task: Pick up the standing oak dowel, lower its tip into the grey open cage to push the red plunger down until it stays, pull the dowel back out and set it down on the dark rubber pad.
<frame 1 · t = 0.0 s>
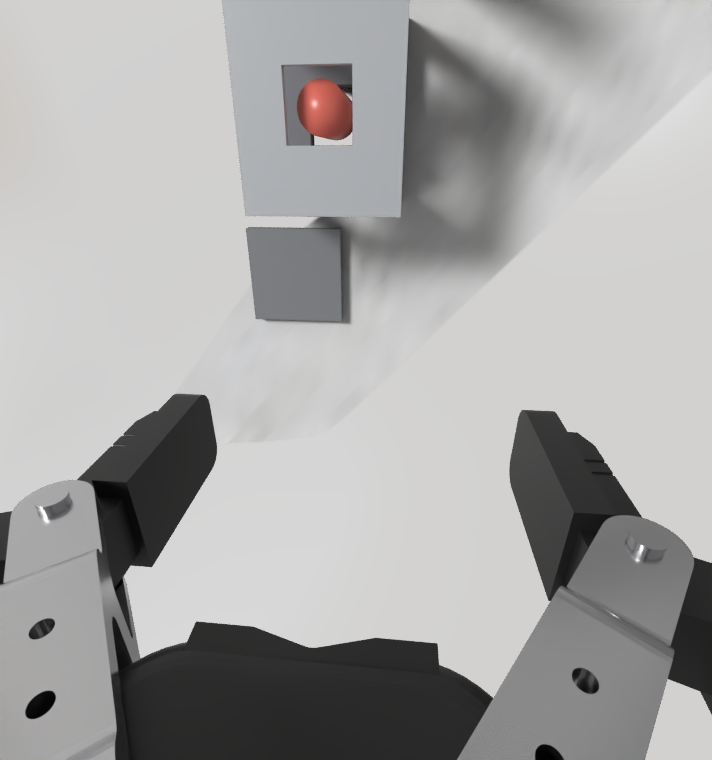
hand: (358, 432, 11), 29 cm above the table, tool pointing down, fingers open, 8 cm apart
grey open cage: (339, 118, 34), on the table
plunger: (329, 113, 29), point 5 cm above the table, slide at 0.0 cm
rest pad: (297, 274, 40), on the table
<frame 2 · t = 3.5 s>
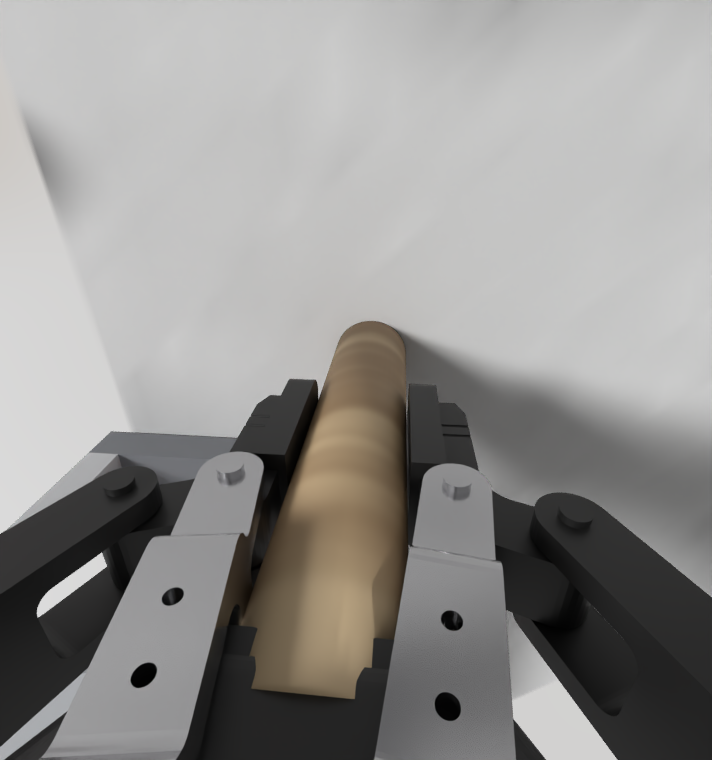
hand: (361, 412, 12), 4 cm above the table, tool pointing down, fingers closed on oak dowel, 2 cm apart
oak dowel: (371, 353, 16), on the table, touching gripper
grey open cage: (242, 542, 21), on the table
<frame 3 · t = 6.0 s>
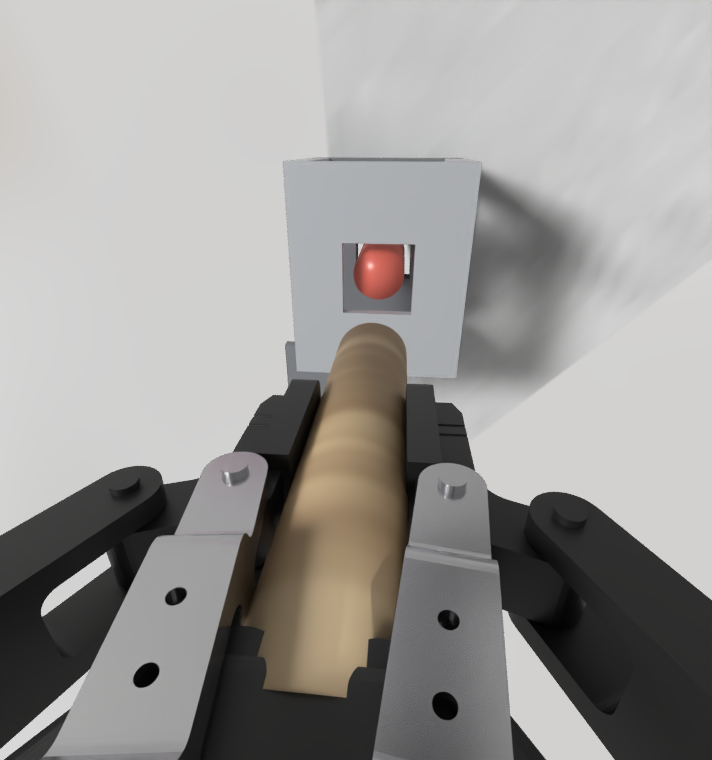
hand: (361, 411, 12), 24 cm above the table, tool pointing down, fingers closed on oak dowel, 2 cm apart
oak dowel: (372, 355, 16), point 20 cm above the table, touching gripper
grey open cage: (384, 247, 33), on the table
plunger: (381, 262, 29), point 5 cm above the table, slide at 0.0 cm
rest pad: (334, 385, 39), on the table
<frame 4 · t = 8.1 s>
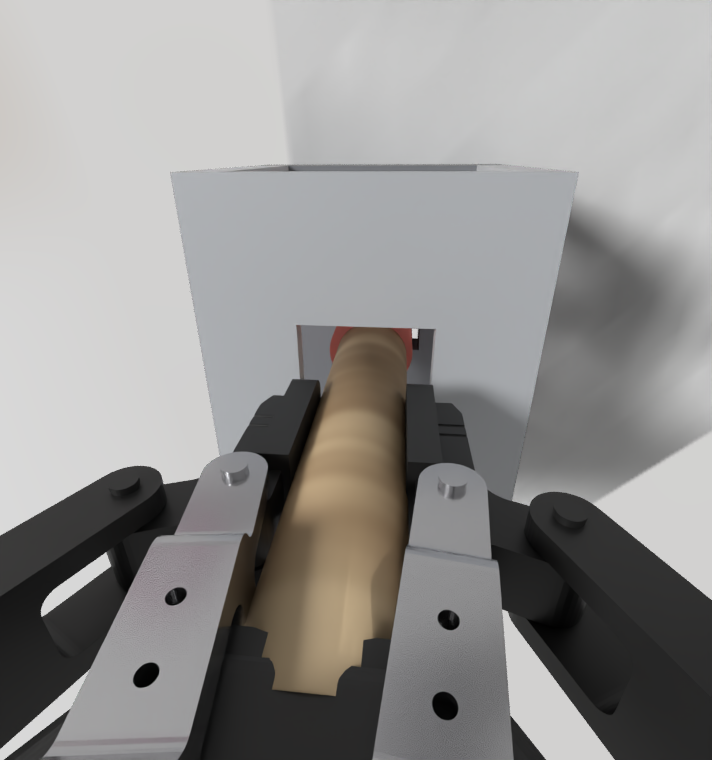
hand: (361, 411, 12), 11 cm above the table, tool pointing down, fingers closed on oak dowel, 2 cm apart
oak dowel: (371, 354, 16), point 7 cm above the table, touching gripper, plunger
grey open cage: (379, 299, 22), on the table
plunger: (375, 322, 19), point 3 cm above the table, slide at 1.6 cm, touching oak dowel
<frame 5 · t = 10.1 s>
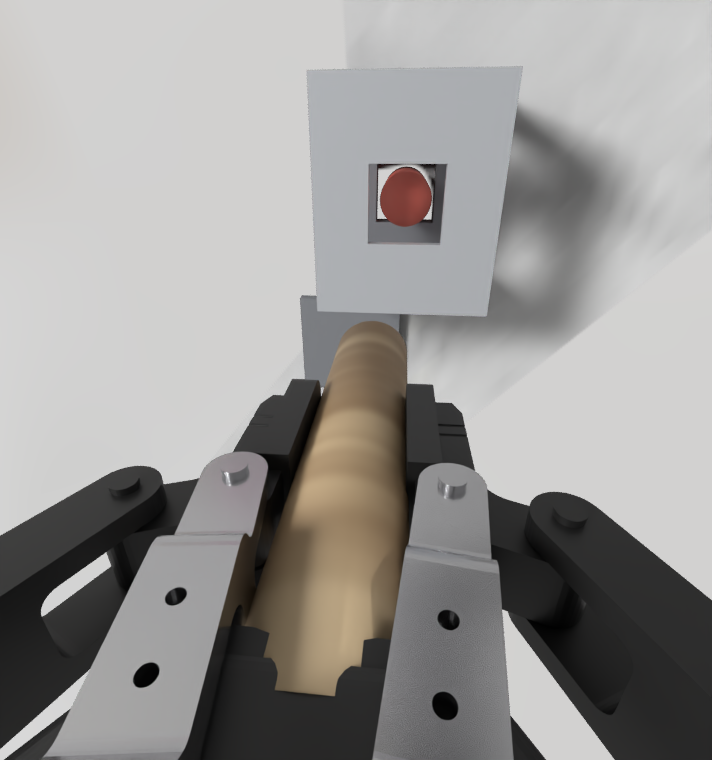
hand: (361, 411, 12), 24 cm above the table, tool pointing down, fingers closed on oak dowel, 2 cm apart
oak dowel: (372, 353, 16), point 20 cm above the table, touching gripper
grey open cage: (405, 189, 32), on the table
plunger: (405, 194, 29), point 3 cm above the table, slide at 1.6 cm
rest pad: (351, 342, 38), on the table
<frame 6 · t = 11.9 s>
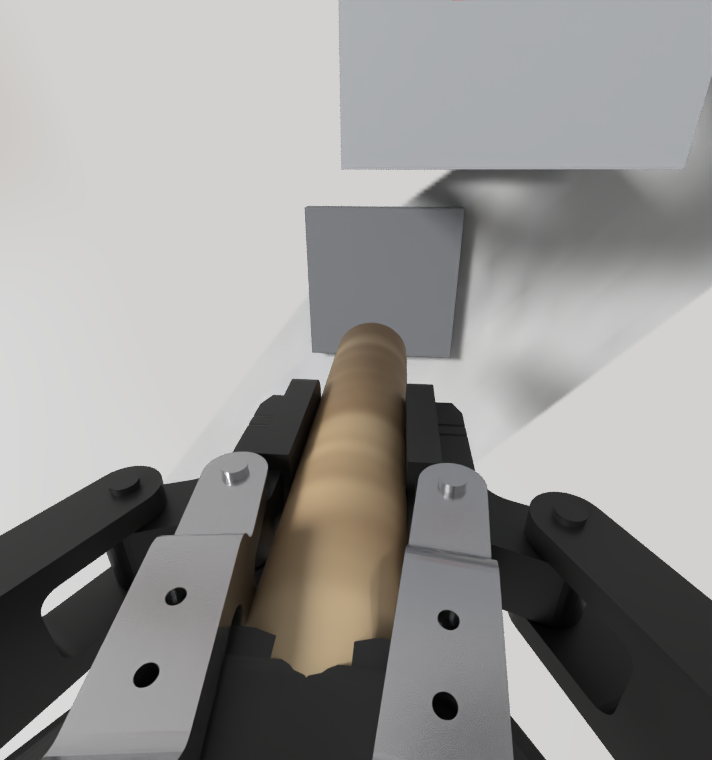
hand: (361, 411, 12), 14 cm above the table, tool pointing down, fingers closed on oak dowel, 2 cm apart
oak dowel: (371, 355, 16), point 10 cm above the table, touching gripper
grey open cage: (482, 6, 19), on the table
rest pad: (382, 283, 25), on the table
when the fingers open (6 cm above the table, at t = 13.7 s): oak dowel drops 1 cm, resting on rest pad.
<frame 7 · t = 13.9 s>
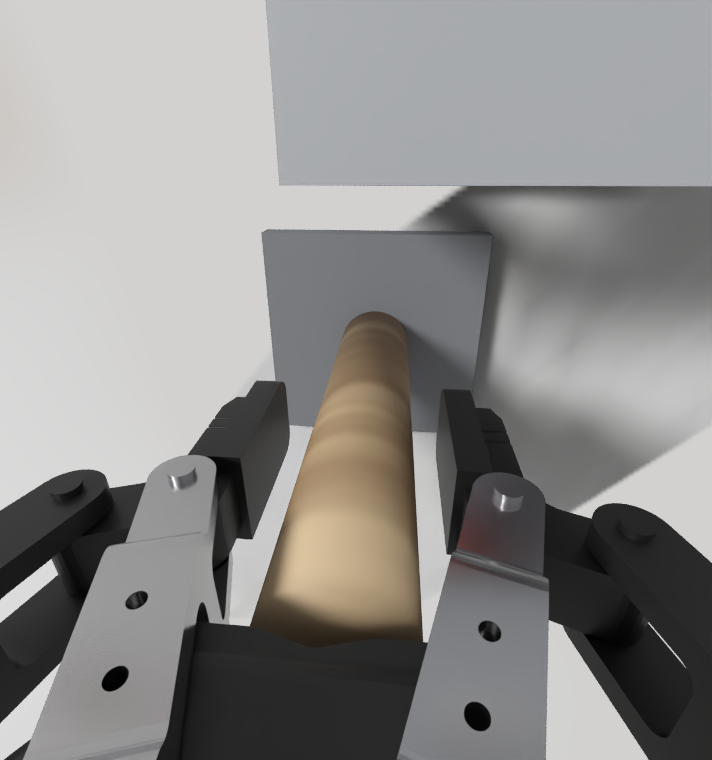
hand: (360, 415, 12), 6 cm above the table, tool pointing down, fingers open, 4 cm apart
oak dowel: (374, 342, 17), point 1 cm above the table, touching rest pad
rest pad: (374, 334, 18), on the table
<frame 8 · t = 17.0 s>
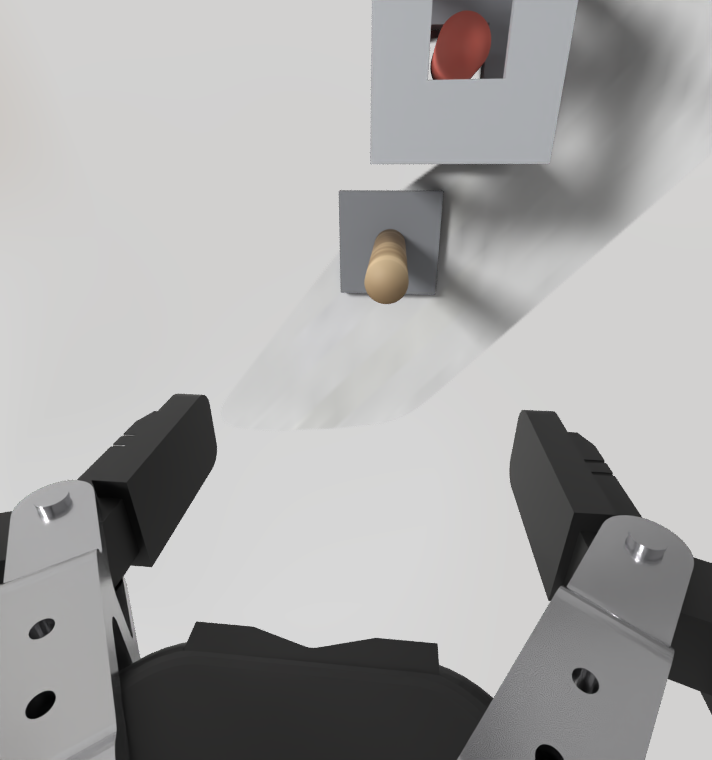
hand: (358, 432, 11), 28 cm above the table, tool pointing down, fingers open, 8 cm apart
oak dowel: (389, 245, 36), point 1 cm above the table, touching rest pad
grey open cage: (452, 65, 31), on the table
plunger: (457, 56, 28), point 3 cm above the table, slide at 1.6 cm
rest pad: (389, 243, 36), on the table
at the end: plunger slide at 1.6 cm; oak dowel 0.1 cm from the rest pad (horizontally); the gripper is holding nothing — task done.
